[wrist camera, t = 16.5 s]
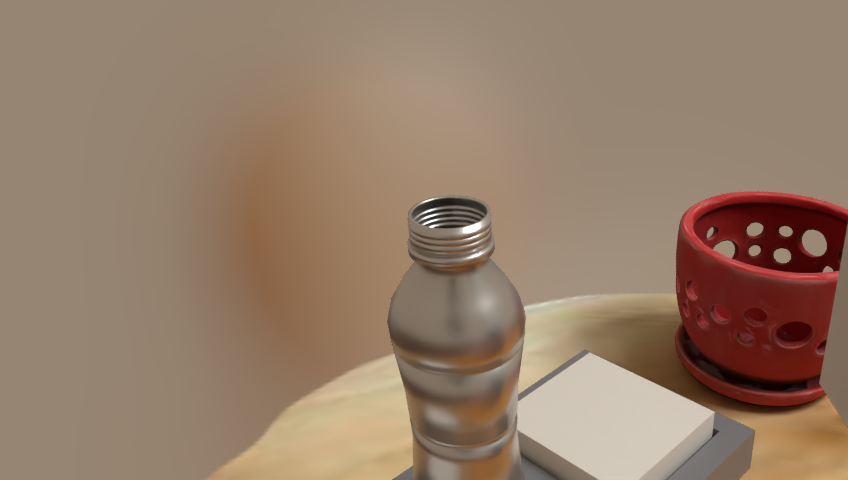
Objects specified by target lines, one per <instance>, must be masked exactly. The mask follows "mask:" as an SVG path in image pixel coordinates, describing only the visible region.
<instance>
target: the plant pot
mask: <svg viewBox="0 0 848 480" xmlns="http://www.w3.org/2000/svg"><path fill="white" fill-rule="evenodd" d="M755 222H758V223H760V224H762V225H763V226H764V229H763V231H762V233H761V234H759V235H757V236H749V235H748V234H747V231H746V230H747V227H748V226H749V225H750V224H751V223H755ZM847 225H848V209H845V208H843V207H841V206H838V205H835V204H832V203H829V202H826V201H822V200H818V199H814V198H811V197H806V196H801V195H794V194H786V193H776V192H758V191H757V192H734V193H727V194H722V195H718V196H715V197H711V198H709V199H705V200H703V201H701V202H699V203H697V204H695V205H694V206H692V207H691V208H689V209H688V210H687V211H686V212H685V214H684V215H683V216H682V219H681V222H680V225H679V232H678V240H677V250H676V293H677V301H678V306H679V311H680V315H681V318H682V321H683V322H682V323H681V325H680V326H679V328H678V330H677V332H676V336H675V345H676V350H677V353H678V355H679V358H680V360H681V361H682V363H683V364H684V366H685V367H686V368H687V370H688V371H689V372H690V373H691V374H692V375H693V376H694V377H695V378H696V379H698V380H699V381H700V382H702V383H703V384H705V385H706V386H708V387H709V388H711V389H713V390H715V391H717V392H719V393H721V394H723V395H726V396H728V397H731V398H734V399H737V400H741V401H745V402H749V403H754V404H760V405H771V406H788V405H796V404H802V403H806V402H809V401H812V400H815V399H818V398H820V397H822V396H824V395H826V393H825V391H824V390H823V388H822V387H821V385H820V384H819V382H820V376H821V371H822V365H823V360H824V354H825V348H826V343H827V337H828V332H829V326H830V320H831V315H832V309H833V304H834V298H835V292H836V287H837V281H838V276H839V270H840V264H841V259H842V253H843V248H844V242H845V236H846V231H847ZM782 226H789V227H790V228H792V230H793V234H792V235H791V236H789V237H784V236H782V235H781V234H780V233H779V228H780V227H782ZM711 227H713V228H714V232H713V234H712V235H711V236H710V237H709V238H707V231H708V230H709V229H710V228H711ZM807 230H817V231H819V232H820V233H822V234H823V235H824V237H825V239H826V242H827V250H826V252H825V253H824V255H822V256H814V255H811V254H810V253H809V252H807V251H806V250H805V248H804V247H803V244H802V236H803V234H804V233H805V231H807ZM726 240H729V241H732V242H733V244H734V246H735V253H734V256H733V258H732V259H731V258H729V257H726V256H724V255H723V254H721V253H719V252H717V251H714V250H713V248H714V247H715V245H717V244H718V243H720V242H721V241H726ZM753 245H758V246H760V248H761V252H760V254H758V255H756V256H751V255H750V254H749V252H748V250H749V248H750V247H751V246H753ZM779 248H784V249H788V250H789V251H790V253H791V260H790V261H789V262H787V263H783V264H782V263H779V262H777V261H776V260H775V259H774V256H773V254H774V251H775V250H776V249H779ZM826 266H829V267H831V268H832V269H833V271H834V272H824V273H823V269H824V268H825V267H826Z"/></svg>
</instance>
